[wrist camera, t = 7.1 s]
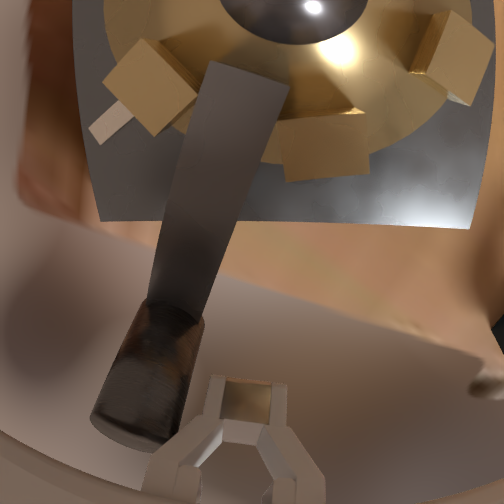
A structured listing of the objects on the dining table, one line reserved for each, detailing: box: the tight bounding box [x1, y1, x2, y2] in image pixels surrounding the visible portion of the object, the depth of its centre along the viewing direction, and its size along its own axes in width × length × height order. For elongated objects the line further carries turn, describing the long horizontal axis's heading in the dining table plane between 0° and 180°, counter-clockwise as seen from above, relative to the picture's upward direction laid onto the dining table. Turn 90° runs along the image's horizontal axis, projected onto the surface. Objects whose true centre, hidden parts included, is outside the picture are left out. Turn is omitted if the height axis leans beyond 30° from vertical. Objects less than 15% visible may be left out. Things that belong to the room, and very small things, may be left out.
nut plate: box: [72, 0, 496, 229], centre depth 10 cm, size 18×18×2 cm
